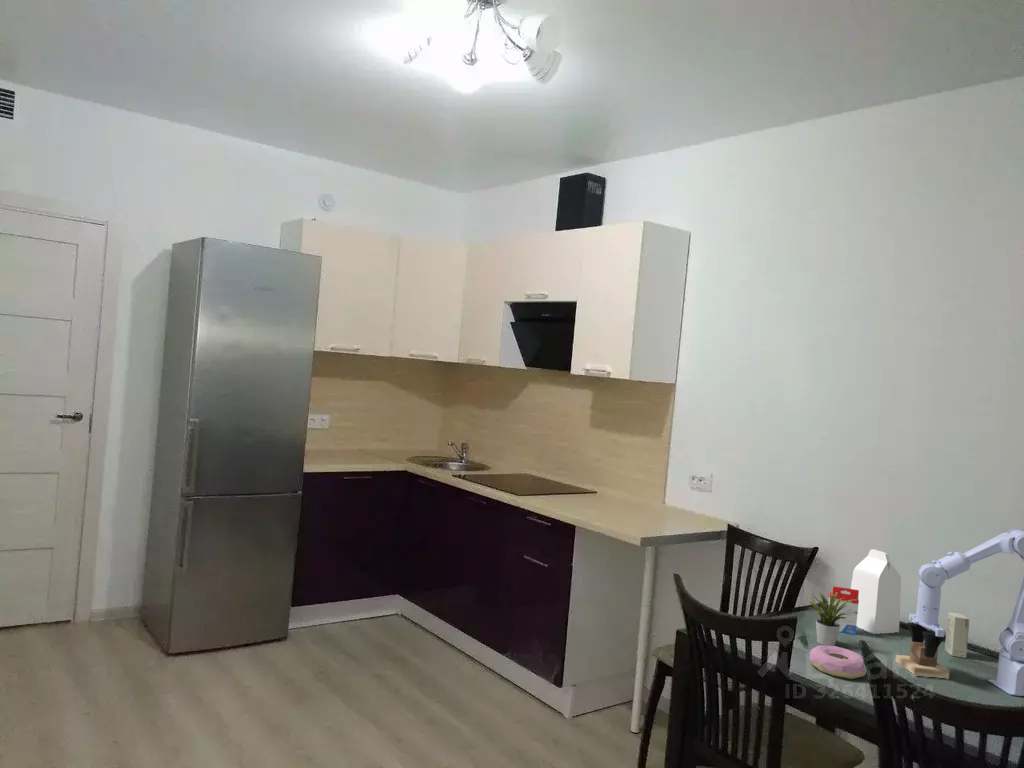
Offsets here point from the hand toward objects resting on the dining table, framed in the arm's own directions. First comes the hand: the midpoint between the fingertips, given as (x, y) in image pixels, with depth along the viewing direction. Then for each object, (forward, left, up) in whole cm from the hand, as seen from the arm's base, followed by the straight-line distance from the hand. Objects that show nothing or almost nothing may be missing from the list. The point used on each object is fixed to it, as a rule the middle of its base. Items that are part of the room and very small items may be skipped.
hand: (923, 652), depth 219 cm
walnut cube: (0, 0, -3) cm, 3 cm away
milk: (+39, -5, -6) cm, 40 cm away
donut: (-5, +27, -6) cm, 28 cm away
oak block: (0, 0, -6) cm, 6 cm away
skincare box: (+18, -21, -5) cm, 28 cm away
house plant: (+18, +19, -5) cm, 27 cm away
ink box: (+32, +9, -6) cm, 34 cm away
